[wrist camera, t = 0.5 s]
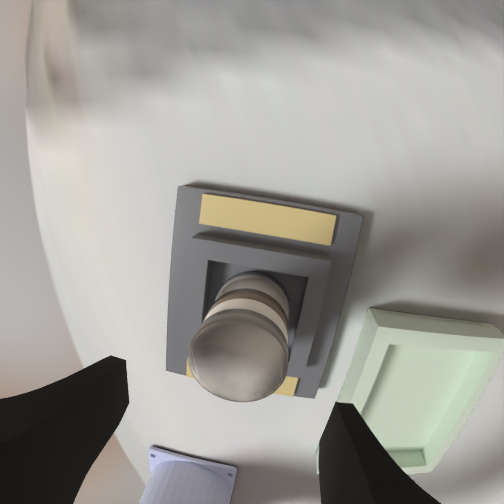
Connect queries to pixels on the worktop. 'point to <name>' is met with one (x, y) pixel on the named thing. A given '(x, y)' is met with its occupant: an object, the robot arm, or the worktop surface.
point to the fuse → (243, 339)
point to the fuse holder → (261, 270)
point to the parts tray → (419, 381)
